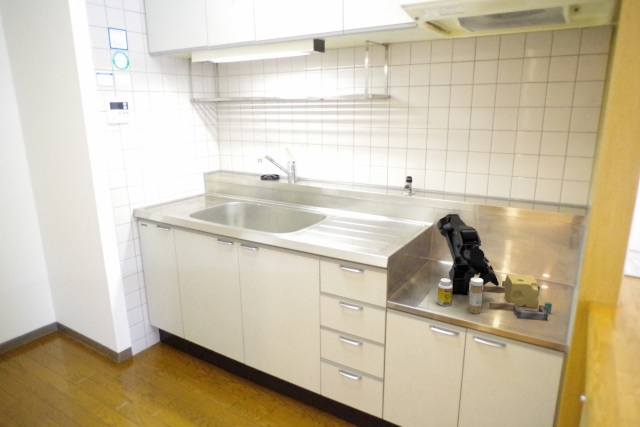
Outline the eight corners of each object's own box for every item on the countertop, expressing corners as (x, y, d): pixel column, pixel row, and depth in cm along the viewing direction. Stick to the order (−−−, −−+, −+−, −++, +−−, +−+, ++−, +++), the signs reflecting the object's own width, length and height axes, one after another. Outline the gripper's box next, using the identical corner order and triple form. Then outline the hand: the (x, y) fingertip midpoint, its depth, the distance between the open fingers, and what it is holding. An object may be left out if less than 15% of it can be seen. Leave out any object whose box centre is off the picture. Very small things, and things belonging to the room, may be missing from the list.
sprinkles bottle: (478, 308, 166) (480, 276, 163) (482, 314, 162) (485, 281, 158) (466, 308, 166) (468, 276, 163) (470, 314, 162) (473, 281, 159)
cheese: (537, 308, 165) (540, 285, 163) (508, 306, 167) (510, 283, 165) (530, 297, 175) (533, 274, 173) (503, 295, 177) (505, 273, 175)
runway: (492, 315, 160) (492, 306, 159) (480, 284, 188) (481, 276, 187) (555, 321, 155) (556, 311, 154) (534, 288, 183) (535, 279, 182)
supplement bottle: (443, 307, 167) (444, 283, 165) (434, 302, 172) (435, 278, 170) (454, 304, 170) (456, 281, 167) (445, 299, 175) (446, 276, 172)
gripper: (454, 261, 182) (478, 287, 183) (458, 278, 164) (485, 307, 165) (475, 245, 178) (499, 271, 179) (481, 261, 161) (509, 290, 161)
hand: (498, 285), depth 171 cm, fingers closed
